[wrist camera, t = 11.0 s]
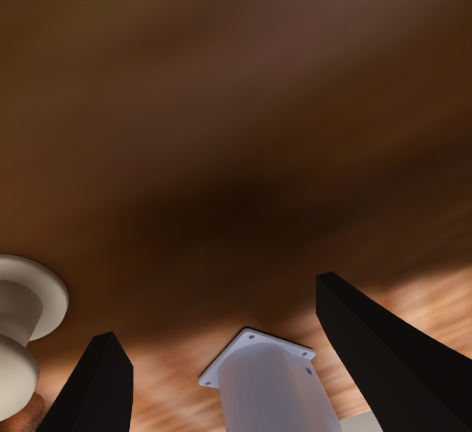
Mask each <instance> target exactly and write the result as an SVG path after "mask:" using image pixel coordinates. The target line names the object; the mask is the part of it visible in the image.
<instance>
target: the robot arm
mask: <svg viewBox="0 0 472 432" xmlns="http://www.w3.org/2000/svg"><path fill="white" fill-rule="evenodd" d="M316 315H317V317H318V319H319V321H320V323H321V325H322V328H323V330H324V332H325V334H326V336H327V338H328V340H329V342H330V343H331V345H332V347H333V348H334V350H335V351H336V353H337V355H338V356H339V358H340V360H341V361H342V363H343V364H344V366H345V368H346V369H347V371H348V372H349V374H350V376H351V377H352V379H353V380H354V382H355V384H356V385H357V387H358V388H359V390H360V392H361V393H362V395H363V396H364V398H365V400H366V401H367V403H368V405H369V406H370V408H371V410H372V412H373V413H374V415H375V417H376V418H377V420H378V422H379V424H380V426H381V428H382V430H383V432H472V359H470V358H468V357H466V356H464V355H462V354H460V353H458V352H457V351H455V350H453V349H451V348H449V347H447V346H445V345H444V344H442V343H440V342H438V341H437V340H435V339H433V338H431V337H430V336H428V335H426V334H425V333H423V332H421V331H420V330H418V329H416V328H415V327H413V326H412V325H410V324H408V323H407V322H405V321H404V320H402V319H400V318H399V317H397V316H396V315H394V314H393V313H391V312H390V311H388V310H387V309H385V308H384V307H382V306H381V305H379V304H378V303H376V302H375V301H373V300H372V299H370V298H369V297H368V296H366V295H365V294H363V293H362V292H360V291H359V290H358V289H356V288H355V287H353V286H352V285H351V284H349V283H348V282H347V281H345V280H344V279H342V278H341V277H340V276H338V275H337V274H335V273H334V272H332V271H331V272H328V273H324V274H320V275H317V276H316ZM315 355H316V354H315V352H314V350H311V349H308V348H305V347H302V346H299V345H296V344H293V343H290V342H287V341H285V340H282V339H279V338H276V337H273V336H270V335H267V334H264V333H261V332H258V331H255V330H252V329H244V330H243V331H242V332H241V333H240V334H239V335H238V336H237V337H236V338H235V339H234V340H233V341H232V342H231V344H230V345H229V346H228V347H227V348H226V349H225V350H224V351H223V352H222V353H221V355H220V356H219V357H218V358H217V359H216V360H215V361H214V362H213V363H212V364H211V366H210V367H209V368H208V369H207V370H206V371H205V372H204V373H203V374H202V375H201V376H200V378H199V379H198V383H199V385H201V386H207V387H212V388H217V389H219V391H220V398H221V404H222V410H223V417H224V423H225V429H226V432H342V430H341V426H340V422H339V420H338V417H337V415H336V413H335V411H334V409H333V407H332V405H331V402H330V400H329V398H328V396H327V394H326V392H325V390H324V388H323V386H322V384H321V382H320V379H319V377H318V375H317V373H316V371H315V369H314V367H313V365H312V363H311V361H310V360H312V359H313V358H314V357H315ZM132 404H133V365H132V363H131V362H130V360H129V358H128V357H127V355H126V353H125V351H124V350H123V348H122V346H121V345H120V343H119V341H118V340H117V338H116V336H115V335H114V333H113V331H112V332H108V333H105V334H101V335H97V336H94V337H93V338H92V340H91V342H90V343H89V345H88V347H87V348H86V350H85V352H84V353H83V355H82V357H81V358H80V360H79V362H78V363H77V365H76V367H75V368H74V370H73V372H72V373H71V375H70V377H69V378H68V380H67V382H66V383H65V385H64V387H63V388H62V390H61V392H60V393H59V395H58V396H57V398H56V400H55V401H54V403H53V404H52V406H51V408H50V409H49V411H48V413H47V414H46V416H45V417H44V419H43V420H42V422H41V424H40V425H39V427H38V428H37V430H36V431H35V432H129V429H130V421H131V413H132Z"/></svg>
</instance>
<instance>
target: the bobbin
mask: <svg viewBox="0 0 472 432" xmlns="http://www.w3.org/2000/svg"><path fill="white" fill-rule="evenodd" d="M68 304H69V293H68V290H67V288H66V286H65V284H64V282H63V281H62V280H61V279H60V277H59V276H58V275H57V274H55V273H54V272H53V271H52V270H50V269H49V268H47V267H45V266H44V265H42V264H40V263H38V262H35V261H33V260H30V259H27V258H24V257H20V256H15V255H8V254H0V421H2V420H4V419H7V418H9V417H10V416H12V415H14V414H16V413H17V412H19V411H20V410H21V409H22V408H23V407H24V406H26V404H27V403H28V402H29V400H30V399H31V397H32V394H33V392H34V389H35V387H36V384H37V382H38V379H39V375H40V370H39V365H38V363H37V361H36V359H35V357H34V356H33V355H32V353H31V352H30V351H29V350H27V349H26V348H25V347H26V345H27V343H28V341H32V340H35V339H38V338H41V337H43V336H45V335H47V334H49V333H50V332H52V331H53V330H54V329H55V328H57V327H58V326H59V324H60V323H61V322H62V320H63V318H64V315H65V313H66V310H67V308H68Z"/></svg>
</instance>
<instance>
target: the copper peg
mask: <svg viewBox="0 0 472 432" xmlns="http://www.w3.org/2000/svg"><path fill="white" fill-rule="evenodd" d="M43 405H44V401H43V398H42V397H41V396H40V395H38V394H37V393H34V392H33V394H32V397H31V399H30V400H29V402H28V403H27V404H26V406H24V407H23V408H22V409H21V410H20V411H19V412H17V413H16V414H14V415H12V416H10V417H9V418H7V419H4V420H2V421H0V432H34V430H35V427H36V424H37V421H38V419H39V416H40V413H41V410H42V408H43Z"/></svg>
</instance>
